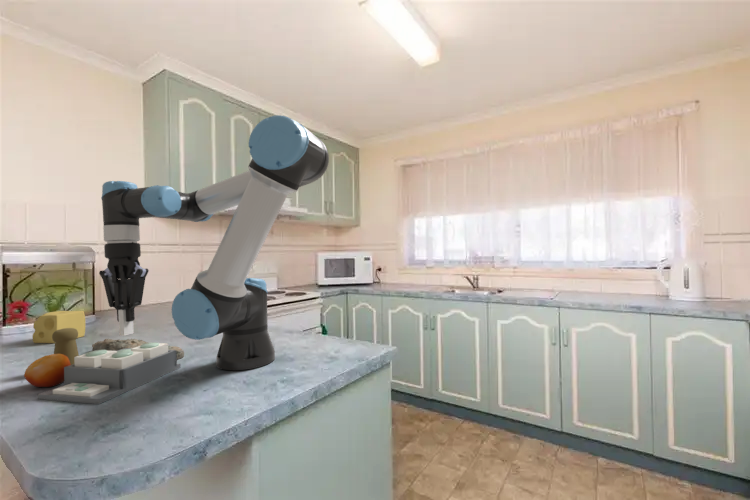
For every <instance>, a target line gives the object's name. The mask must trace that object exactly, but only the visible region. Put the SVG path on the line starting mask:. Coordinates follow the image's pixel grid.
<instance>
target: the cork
mask: <svg viewBox="0 0 750 500" xmlns="http://www.w3.org/2000/svg"><path fill="white" fill-rule="evenodd" d="M77 337H78V331H77V330H76V329H75V328H64V329H60V330H57V331H55V332H54V333H53V335H52V339H53V341H54V342H55V343H54V348H53V349H54V350H53V354H63V355H65V356H67V357H68V359H69V361H70V364H71V365H73V364H75V359H74V357H76V356H80V354H79V350H78V345H77V341H76V340H77V339H78V338H77Z"/></svg>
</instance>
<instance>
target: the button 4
mask: <svg viewBox="0 0 750 500" xmlns="http://www.w3.org/2000/svg"><path fill="white" fill-rule="evenodd" d="M168 346H169V344H168V343H167V342H166V343H164V342H163V343H162V342H161V343H160V342H148V343H146V344H143V345H141V346H138V347H135V348H132V349H131V351H133V352H143V359H151V358H154V357H156V356H159V355H162V354H164V353H167V352H168Z"/></svg>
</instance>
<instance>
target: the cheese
mask: <svg viewBox="0 0 750 500" xmlns="http://www.w3.org/2000/svg"><path fill="white" fill-rule="evenodd" d="M64 328H75V329H76V330H77V331H78V337H77V339H78V338H83V337H85V336H86V335H85V334H86V315H85V311H84V310H57V311H51V312H46V313H43V314H42V315H40V316H39V317H38V318H37V320H34V322H33V330H34V332H33V333H32V342H33V343H34V344H55V342H54V341H53V339H52V335H53V333H54V332H55V331H57V330H60V329H64Z"/></svg>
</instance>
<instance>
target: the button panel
mask: <svg viewBox="0 0 750 500" xmlns="http://www.w3.org/2000/svg"><path fill="white" fill-rule="evenodd" d="M124 349H132V348H124ZM124 349H121V350H124ZM118 351H120V350H118ZM177 360H178V359H177V351H176V350H168V352H167V353H164V354H162V355H159V356H156V357H154V358H151V359H143V362H140V363H138V364H135V365H132V366H129V367H127V368H124V369H111V368H101V366H98V367H95V368H94V367H76V366H75V364H73V365H70V366H66V367H64V382H63V383H64V384H63V385H61V386H57V387H54V388H52V389H49V390H45V391H43V392H41V393H38V394H37V399H38V400H47V401H48V400H49V401H57V402H68V403H69V402H70V403H71V402H72V403H85V404H95V405H101V404H103V403H104V402H106V401H109V400H112V399H113V398H116V397H118V396H120V395H123V394H124V393H127V392H129V391H132V390H133V389H136V388H138V387H140V386H142V385H145V384H147V383H149V382H151V381H154V380H157V379H158V378H160V377H163V376H165V375H167V374H169V373H171V372H175V371H176V370H178V369H180V368H181V366H182V365H181V363H178V361H177Z"/></svg>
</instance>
